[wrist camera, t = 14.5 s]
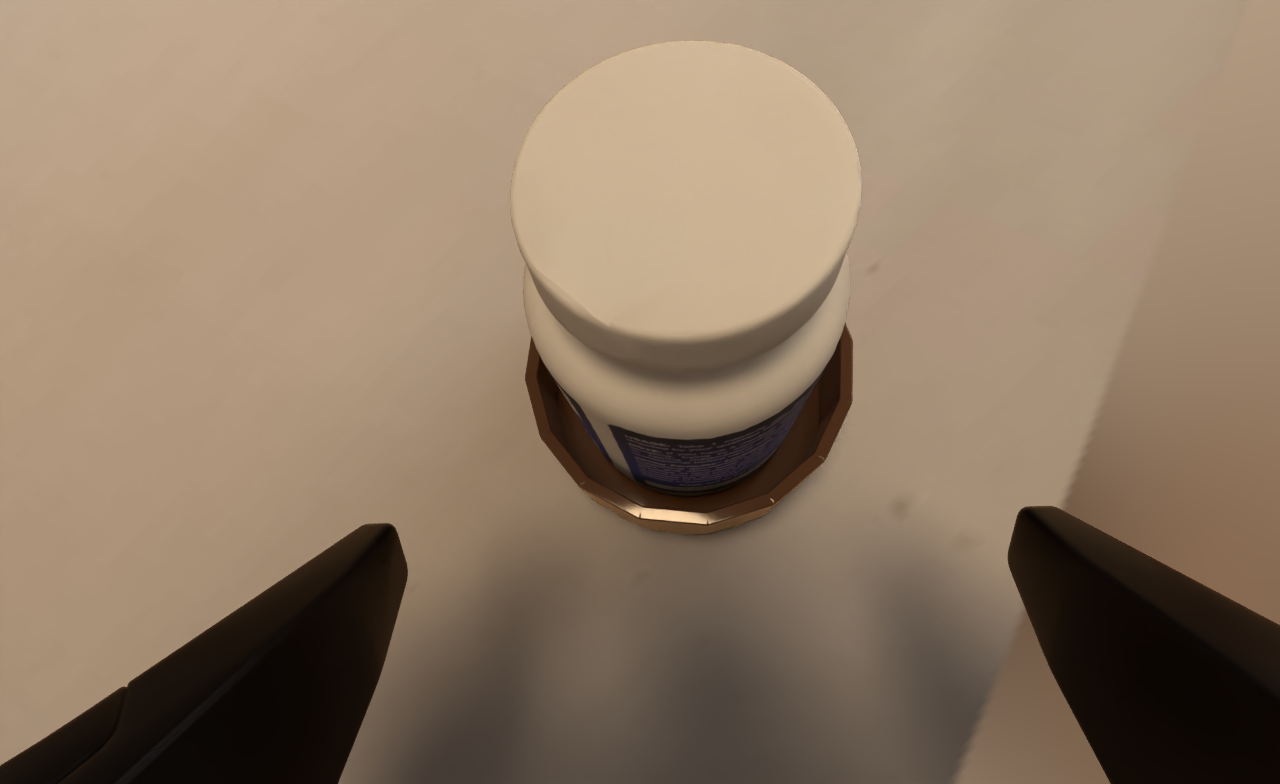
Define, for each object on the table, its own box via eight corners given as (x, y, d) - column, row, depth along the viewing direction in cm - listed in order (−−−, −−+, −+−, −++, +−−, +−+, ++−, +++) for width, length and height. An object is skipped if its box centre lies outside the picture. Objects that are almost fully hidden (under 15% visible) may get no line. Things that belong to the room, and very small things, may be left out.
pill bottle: (827, 357, 18) (982, 95, 8) (729, 539, 17) (782, 474, 7) (648, 269, 19) (607, -47, 10) (545, 433, 18) (380, 257, 8)
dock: (886, 409, 18) (924, 375, 15) (671, 596, 17) (667, 598, 14) (701, 224, 20) (703, 163, 17) (500, 380, 19) (465, 343, 16)
